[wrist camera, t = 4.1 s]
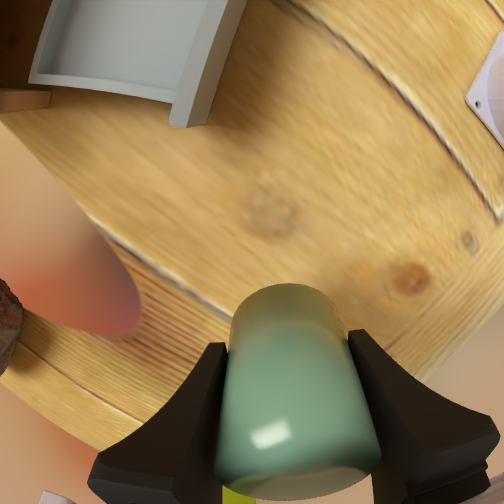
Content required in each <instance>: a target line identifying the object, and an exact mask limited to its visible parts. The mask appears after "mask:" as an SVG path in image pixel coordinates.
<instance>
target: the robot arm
mask: <svg viewBox="0 0 504 504" xmlns="http://www.w3.org/2000/svg"><path fill="white" fill-rule="evenodd" d="M465 100H466V103H467V104H468V106H469V107H470V108H471V109H472V110H473V111H474V113H475V114H476V115H477V116H478V117H479V118H480V120H481V121H482V122H483V123H484V124H485V126H486V127H487V128H488V129H489V131H490V132H491V133H492V134H493V136H494V137H495V138H496V140H497V141H498V142H499V144H500V145H501V146H502V148H503V149H504V30H502V31H500V32H499V34H498V36H497V38H496V40H495V42H494V44H493V46H492V48H491V50H490V52H489V54H488V56H487V58H486V59H485V61H484V63H483V65H482V67H481V69H480V71H479V72H478V74H477V76H476V78H475V80H474V81H473V83H472V85H471V87H470V88H469V90H468V92H467V94H466V96H465ZM476 102H477V105H478V106H477V108H476V105H475V103H476ZM348 344H349V347H350V350H351V353H352V356H353V360H354V363H355V366H356V369H357V372H358V375H359V378H360V381H361V385H362V388H363V391H364V394H365V398H366V401H367V404H368V408H369V411H370V414H371V418H372V421H373V425H374V428H375V432H376V435H377V439H378V442H379V446H380V449H381V459H380V462H379V464H378V466H377V467H376V468H375V469H374V471H373V472H371V476H372V486H373V495H374V504H504V472H503V473H501V474H499V475H497V476H495V477H493V478H491V479H489V478H488V476H487V474H486V471H485V470H486V469H487V468H488V465H487V463H486V458H487V457H488V456H489V455H490V453H491V452H492V451H493V450H494V448H495V447H496V446H497V444H498V443H499V440H500V434H499V431H498V430H497V428H496V425H495V424H494V422H493V420H492V419H491V417H490V416H488V415H485V414H482V413H479V412H476V411H473V410H470V409H468V408H466V407H463V406H461V405H459V404H457V403H454V402H452V401H450V400H448V399H446V398H444V397H443V396H441V395H439V394H438V393H436V392H434V391H433V390H431V389H429V388H428V387H426V386H425V385H424V384H422V383H421V382H419V381H418V380H416V379H415V378H414V377H413V376H411V375H410V374H409V373H408V372H407V371H405V370H404V369H403V368H402V367H401V366H400V365H399V364H397V363H396V362H395V361H394V360H393V359H392V358H391V357H390V356H389V355H388V354H387V353H386V352H385V351H384V350H383V349H382V348H381V347H380V346H379V345H378V344H377V343H376V342H375V341H374V339H373V338H372V337H371V336H370V335H369V334H368V333H367V332H366V331H365V330H364V329H360V330H352V331H349V334H348ZM226 362H227V349H226V345H225V342H218V343H209V344H208V346H207V347H206V349H205V351H204V352H203V354H202V356H201V357H200V359H199V361H198V362H197V364H196V365H195V367H194V368H193V370H192V371H191V372H190V374H189V375H188V377H187V378H186V380H185V381H184V382H183V384H182V385H181V386H180V387H179V389H178V390H177V391H176V392H175V394H174V395H173V396H172V397H171V398H170V399H169V401H168V402H167V403H166V404H165V405H164V406H163V407H162V408H161V409H160V410H159V411H158V412H157V413H156V414H155V415H154V416H153V417H151V418H150V419H149V420H148V421H147V422H146V423H145V424H143V425H142V426H141V427H140V428H138V429H137V430H136V431H134V432H133V433H131V434H130V435H129V436H127V437H126V438H124V439H123V440H121V441H120V442H118V443H116V444H114V445H113V446H111V447H109V448H107V449H105V450H104V451H102V452H100V453H98V455H97V457H96V460H95V461H94V464H93V467H92V470H91V472H90V475H89V478H88V481H87V484H88V486H89V488H90V489H91V490H92V491H93V492H94V493H95V494H96V495H97V496H98V497H100V498H101V499H102V500H103V501H104V502H105V503H107V504H223V485H222V484H221V483H220V482H219V481H218V480H217V478H216V477H215V474H214V463H215V455H216V446H217V437H218V429H219V420H220V412H221V403H222V395H223V387H224V378H225V370H226ZM39 504H76V503H75V502H73V501H72V500H70V499H68V498H66V497H63V496H60V495H57V494H55V493H52V492H49V491H47V490H45V491H44V492H43V494H42V497H41V499H40V502H39Z"/></svg>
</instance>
